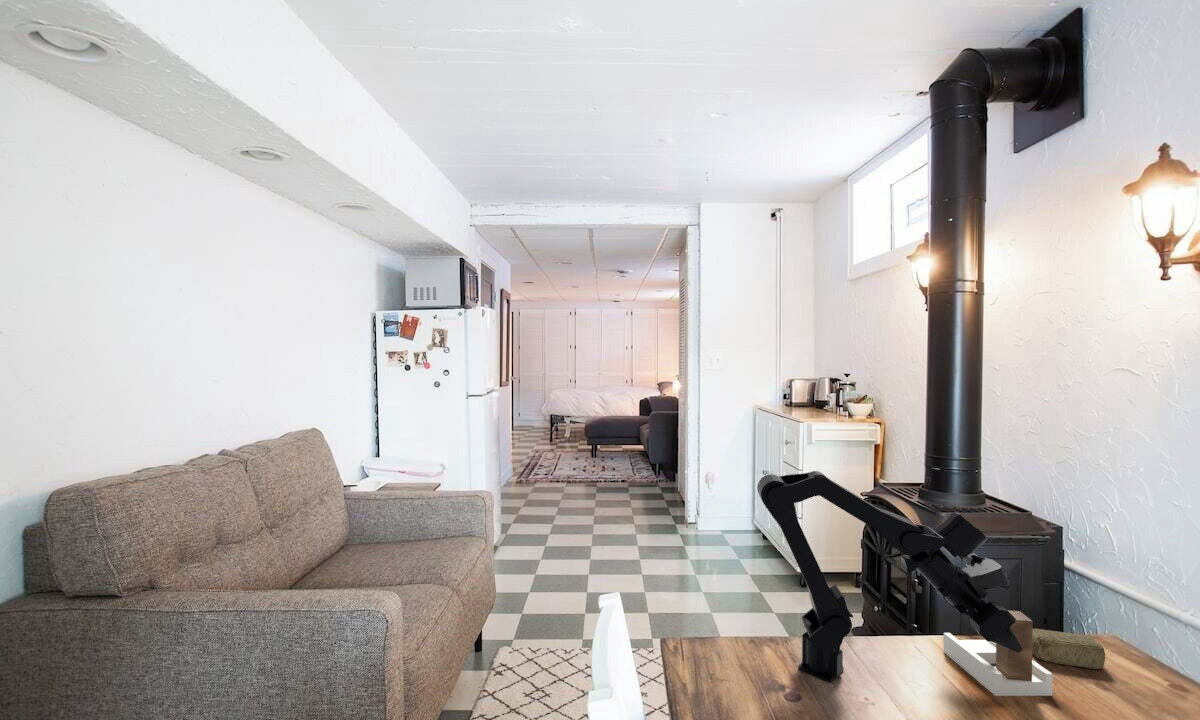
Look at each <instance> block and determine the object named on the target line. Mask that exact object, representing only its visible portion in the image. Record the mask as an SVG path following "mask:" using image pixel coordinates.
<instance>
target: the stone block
mask: <svg viewBox="0 0 1200 720" xmlns="http://www.w3.org/2000/svg"><path fill="white" fill-rule="evenodd" d="M1032 656H1035V657H1036V659H1039V660H1041V661H1044V662H1046V663H1047V662H1048V663H1052V664H1056V665H1057V664H1058V665H1064V666H1071V667H1075V668H1076V667H1077V668H1085V669H1086V668H1087V669H1093V670H1101V669H1104V667H1105V666H1104V665H1105V662H1106V652H1105V647H1104V646H1103V645H1102V644H1101V643H1099V642H1098V641H1097V640H1096V639H1095V638H1093V637H1090V636H1086V635H1083V634H1075V633H1070V632H1062V631H1055V630H1049V629H1047V630H1046V629H1040V628H1033V634H1032Z"/></svg>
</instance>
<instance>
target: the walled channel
mask: <svg viewBox="0 0 1200 720" xmlns="http://www.w3.org/2000/svg"><path fill="white" fill-rule="evenodd" d="M942 644H943V648H942V649H943V650H942V651H943V653H944V654H945V655H947V656H948V657H949V658H950V659H951V660H952V661H953V662H955V663H956V664H957V665H958V666H960V668H961V669H963V670H964V671H965V672H967V673H968V674H969V675H970V676H972V678H973V679H975V680H976V681H977V682H979V684H981V685H982V686H983V687H985V689H986V690H988V691H989V692H990V693H992V694H993V696H995V697H1012V696H1013V697H1031V696H1032V697H1034V696H1035V697H1036V696H1037V697H1041V696H1042V697H1043V696H1044V697H1048V696H1050V697H1051V696H1053V672H1051V671H1049V670H1048V669H1046V668H1045V667H1044V666H1042V665H1041V664H1039V663H1037V662H1036V661H1035V660H1033V659H1032V681H1021V680H1010V679H1007V678H1006V677H1005V676H1004V675H1003V674H1002V673H1001V672H1000V671H999V670H998V669H997V668H996V643H994V642H992V641H989V642H987V641H986V640H985V639H959V638H957V637H956V636H954V635H953V634H952V633H951V632H943V643H942Z"/></svg>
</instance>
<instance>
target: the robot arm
mask: <svg viewBox="0 0 1200 720" xmlns="http://www.w3.org/2000/svg"><path fill="white" fill-rule="evenodd" d="M756 489H757V494H758V495H759V497H760V499H761V502H762V503H763V505H764V506H765V508H766V509H767V511H768V512H769V513H770V515H771V516H772V519H774V521H775V522H776V523H777V524H778V526H779V528H780V529H781V532H782V534H783V537H784V538H785V541H786V543H787V545H788V546H789V549H790V551H791V553H792V555H793V557H794V560H795V562H796V564H797V567H798V568H799V572H800V573H801V575H802V577H803V579H804V581H805V583H806V586H807V590H808V596H809V599H810V604H811V608H810V609H809V610H808V611H807V612H805V613H804V614H803V615H802V616H801V620H802V623H803V626H804V629H806V631H805V632H804V633H803V634H802V635H801V637H802V638H801V640H802V643H801V646H802V647H801V649H802V650H801V662H800V663H799V664H798V665H797V669H798V670H800V671H803V672H805V673H807V674H810V675H811V676H813V677H816V678H819V679H821V680H824V681H826V682H827V683H829V682H832V681H833V680H834V679H835V678H836V677H838V676H839V675H840V674H841V673H842V672H843V671H844V669H845V668H844V666H843V664H844V663H843V662H844V659H843V657H844V656H843V655H844V654H843V650H842V649H841V645H842V643H843V640H844V639H845V637H847V636H848V635H850V633H851V630H852V628H853V623H852V619H851V618H854V615H853V613H852V611H851V610H850V609H849V607H848V605H847V603H846V602H847V601H846V599H845V596H844V595H843V593H842V592H841V590H840V588H839V587H838V585H837V584H833V585H832V586H830V585H829V584H828V582H827V581H826V578H825V576H824V574H823V572H822V569H821V567H820V566H819V563H818V561H817V559H816V557H815V554H814V552H813V550H812V549H811V546H810V543H809V541H808V540H807V537H806V536H805V533H804V531H803V529H802V527H801V525H800V522H799V519H798V516H797V510H796V505H795V504H797V503H801V502H803V501H805V500H808V499H811V498H814V497H819V496H820V497H822V498H823V499H825V500H826V501H828V502H829V503H831V504H833V505H835V506H836V507H838V508H839V509H840V510H843V511H845V512H846V513H848V514H849V515H851V516H852V517H854V518H856V519H857V520H859V521H861V522H863V523H864V524H866V525H867V526H869V527H871V528H872V529H873V530H874V531H875V532H876V533H877V534H879V535H880V536H881V537H883V538H884V540H886V541H887V542H889V544H891V545H892V547H894V548H895V549H896V550H898V552H900V553H901V555H900V558H901V561H900V567H901V569H902V570H903V571H905V572H906V574H908V575H909V574H912V573H913V572H914V571H915V570H917V571H918V572H919V573H920V574H921V575H922V576H923V577H924V578H925V579H926V580H927V581H928V582H929V584H931V586H932V587H934V589H935V592H936V593H937V595H939V596H940V597H941V598H942V599H943V600H944V601H945V602H946V603H947V604H949V606H951V608H953V609H955V610H956V611H957V612H958V613H960V615H962V614H964V615H966V616H968V617H969V625H970V626H971V627H972V628H973V629H974V630H975V631H976V632H977V633H978V635H980V636H981V637H982V638H983V640H986V641H987V642H989V641H992V642H994V643H997V644H999V645H1001V646H1004V647H1006V648H1008V649H1011V650H1013V651H1015V652H1018V653H1019V652H1021V651H1022V650H1023V648H1022V646H1021V645H1020V643H1019V641H1018V640H1017V638H1016V636H1015V635H1014V633H1013V631H1012V630H1011V625H1013V624H1014V623H1015V621H1016V618H1015V617H1014V616H1013V615H1012V614H1011V613H1010V612H1009V611H1008V609H1006V608H1005V607H1004V606H1003V605H1001V604H1000V603H999V602H998V601H989V602H986V601H984V599H985V598H986V597H987V596H988V595H989V593H988V592H987V590H988V591H989V590H991V589H995V588H997V587H1000V586H1003V587H1004V586H1007V585H1008V584H1009V583H1010V581H1009V579H1008V577H1007V575H1006V572H1005V570H1004V569H1003V567H1002V565H1001V564H999V563H998V562H996V561H995V560H994V559H992V558H987V557H984V558H981V557H980V556H979V555H978V554H976V553H973V552H975V551H976V550H977V549H978V548H980V547H981V546H982V545H984V544H985V542H987V541H988V540H989V539H988V537H987V536H986V535H985V534H984V533H983V532H982V531H981V530H980V529H979V528H977V527H976V526H974V525H973V524H972V523H970V521H968V520H967V519H966V518H964V517H963V515H961V514H960V513H958V512H957V511H954V512H952V513H951V514H949V515H948V516H947V518H946V519H945V520H944V521H943V522H942V523H941V524H940V525H938V526H937V527H936V528H935V529H932V528H931V527H929V526H927V525H923V524H918V523H914V522H912V521H911V520H910V519H908V518H907V517H904V516H902V515H899V514H897V513H894V512H891V511H888V510H886V509H882V508H879V507H877V506H875V505H874V504H872V503H870V502H869V501H867V500H866V499H864V498H862V497H861V496H859V495H858V494H855V493H854V492H851V491H850V490H848V489H847V488H845V487H844V486H841V485H840V484H839V483H837V482H835V481H833V480H832V479H830V478H828V477H827V476H826V475H825V474H824V473H822V472H820V471H819V470H814V471H810V472H805V473H804V472H803V473H793V474H786V475H780V476H779V475H777V474H766V475H764V476H763V477H761V478H760V479H759V481H758V483H757V486H756ZM941 549H943V550H944V551H945V552H946V553H948V554H949V555H950V557H952V558H953V559H956V558H959V559H960V560H965V559H966V563H965V566H966V567H963V568H961V567H960V566H959V565H957V564H955V563H954V562H953V561H952V559H950V558H949V557H948V556H947V555H946V554H945V553H944V551H942V550H941Z"/></svg>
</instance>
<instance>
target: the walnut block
mask: <svg viewBox="0 0 1200 720" xmlns="http://www.w3.org/2000/svg"><path fill="white" fill-rule="evenodd" d="M1007 610H1008V609H1007ZM1008 611H1009V612H1010V613H1011V614H1012V615H1013V616H1014V617H1015V618H1016V621H1015V623H1014V624H1013V625H1011V630H1012V631H1013V633H1014V635H1015V636H1016V638H1017V640H1018V641H1019V643H1020V645H1021V646H1022V648H1023V650H1022V651H1021V652H1019V653H1018V652H1015V651H1013V650H1011V649H1008V648H1006V647H1004V646H1001V645H999V644H997V643H996V668H997V669H998V670H999V671H1000V672H1001V673H1002V674H1003V675H1004V676H1005V677H1006V678H1007V679H1010V680H1021V681H1032V660H1033V654H1032V634H1033V629H1034V628H1033V627H1034V626H1033V620H1032V619H1031V618H1030V617H1028V616H1027V615H1026V614H1024V613H1023V612H1021V610H1008Z"/></svg>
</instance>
